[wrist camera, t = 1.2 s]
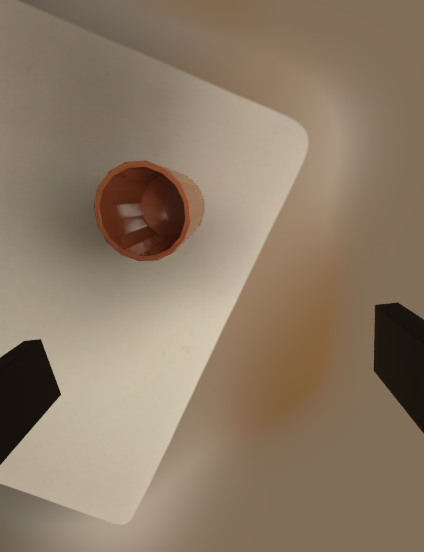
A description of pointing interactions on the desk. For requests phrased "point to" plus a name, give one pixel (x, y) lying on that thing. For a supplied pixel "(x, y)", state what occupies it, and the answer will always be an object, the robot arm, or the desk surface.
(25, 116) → the desk surface
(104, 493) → the desk surface
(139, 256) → the cup
